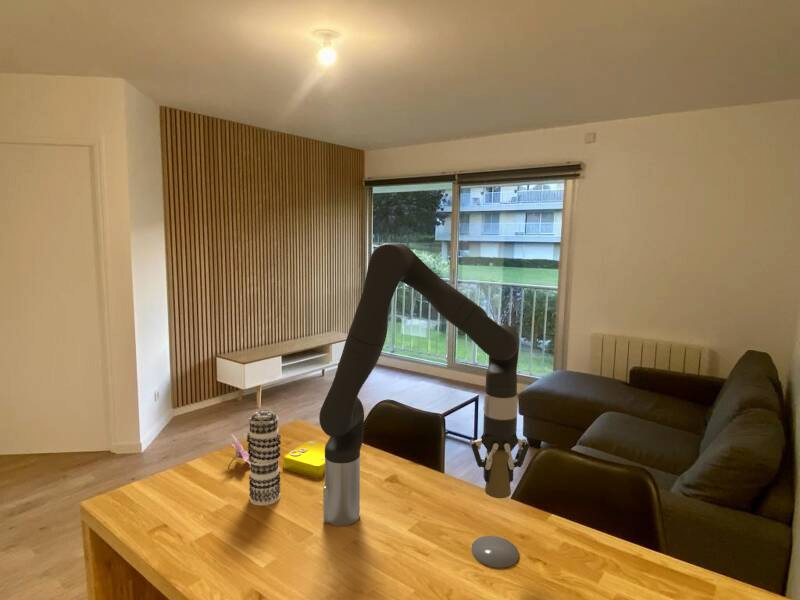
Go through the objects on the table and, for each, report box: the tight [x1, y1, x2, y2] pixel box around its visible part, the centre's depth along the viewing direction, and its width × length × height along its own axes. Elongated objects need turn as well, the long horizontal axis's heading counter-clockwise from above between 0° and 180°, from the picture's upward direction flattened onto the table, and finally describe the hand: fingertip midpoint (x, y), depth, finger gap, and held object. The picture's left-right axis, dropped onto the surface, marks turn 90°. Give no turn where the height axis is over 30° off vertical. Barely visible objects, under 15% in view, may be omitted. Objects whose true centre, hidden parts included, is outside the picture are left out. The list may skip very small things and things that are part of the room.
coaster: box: [471, 535, 519, 569], centre depth 114 cm, size 11×11×1 cm
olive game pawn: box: [484, 449, 512, 499], centre depth 111 cm, size 6×6×11 cm
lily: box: [227, 433, 251, 469], centre depth 154 cm, size 12×12×10 cm
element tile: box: [283, 440, 327, 479], centre depth 157 cm, size 15×15×5 cm
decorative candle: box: [246, 409, 282, 507], centre depth 134 cm, size 9×9×25 cm
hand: (498, 482), depth 112 cm, fingers closed on olive game pawn, 4 cm apart
